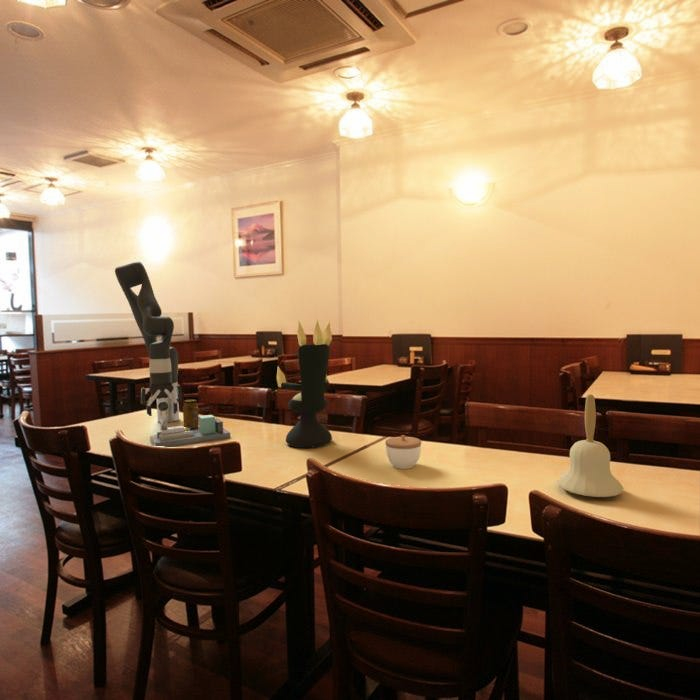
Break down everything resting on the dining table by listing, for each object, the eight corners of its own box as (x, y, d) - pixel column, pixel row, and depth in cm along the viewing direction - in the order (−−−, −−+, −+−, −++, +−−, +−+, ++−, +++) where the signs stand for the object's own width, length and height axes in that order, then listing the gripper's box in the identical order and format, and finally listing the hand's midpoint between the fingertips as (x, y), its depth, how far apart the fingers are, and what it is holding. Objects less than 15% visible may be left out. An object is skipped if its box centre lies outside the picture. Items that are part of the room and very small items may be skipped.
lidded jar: (385, 460, 158) (384, 431, 158) (419, 460, 158) (419, 430, 157) (386, 471, 148) (386, 440, 147) (423, 471, 147) (423, 439, 147)
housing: (199, 431, 196) (198, 416, 195) (212, 429, 198) (211, 414, 198) (202, 434, 191) (201, 418, 191) (215, 432, 194) (214, 416, 193)
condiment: (196, 426, 215) (195, 398, 214) (204, 429, 208) (203, 400, 208) (179, 428, 210) (178, 400, 209) (187, 432, 204) (185, 403, 203)
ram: (158, 436, 188) (156, 401, 187) (186, 432, 193) (184, 398, 192) (160, 438, 184) (158, 402, 183) (188, 434, 189) (187, 399, 188)
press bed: (150, 441, 190) (149, 425, 190) (221, 431, 204) (220, 416, 203) (155, 448, 179) (155, 432, 179) (230, 437, 193) (229, 422, 192)
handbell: (637, 501, 121) (639, 398, 119) (577, 505, 119) (578, 400, 117) (599, 480, 136) (600, 388, 134) (545, 483, 135) (546, 390, 133)
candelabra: (324, 434, 195) (321, 318, 191) (349, 447, 175) (346, 318, 171) (277, 440, 187) (273, 319, 183) (297, 455, 167) (293, 319, 163)
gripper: (141, 373, 178) (143, 418, 179) (182, 370, 185) (184, 413, 186) (138, 371, 185) (140, 415, 186) (178, 368, 192) (180, 410, 193)
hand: (162, 414), depth 186 cm, fingers open, 8 cm apart
